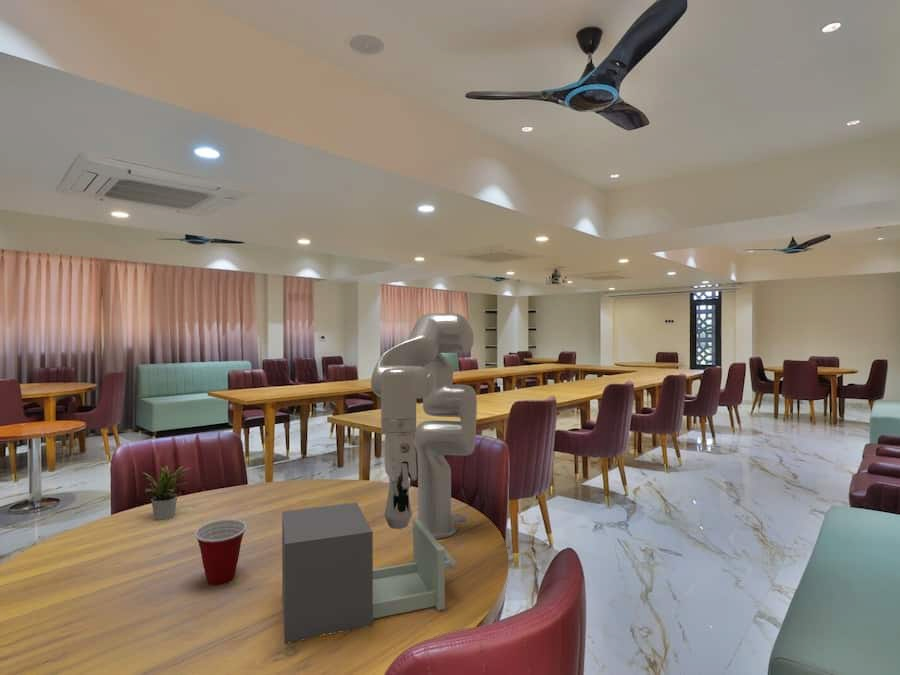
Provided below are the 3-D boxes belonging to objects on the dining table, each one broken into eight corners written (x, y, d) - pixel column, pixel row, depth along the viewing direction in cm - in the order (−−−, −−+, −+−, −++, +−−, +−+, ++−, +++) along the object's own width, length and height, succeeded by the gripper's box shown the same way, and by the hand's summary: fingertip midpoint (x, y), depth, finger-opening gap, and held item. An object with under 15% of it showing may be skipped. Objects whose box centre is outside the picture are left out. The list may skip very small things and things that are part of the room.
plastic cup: (194, 596, 104) (194, 540, 104) (194, 575, 113) (194, 523, 113) (248, 584, 109) (248, 531, 109) (244, 565, 118) (244, 516, 118)
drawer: (435, 567, 116) (435, 517, 117) (463, 605, 100) (463, 546, 100) (350, 581, 109) (350, 528, 110) (364, 625, 93) (364, 562, 93)
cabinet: (356, 582, 110) (356, 502, 110) (372, 625, 93) (372, 531, 93) (282, 595, 104) (282, 511, 105) (284, 643, 88) (284, 543, 88)
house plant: (203, 515, 152) (203, 463, 153) (157, 529, 141) (157, 473, 141) (178, 507, 160) (178, 457, 160) (132, 520, 148) (133, 466, 148)
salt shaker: (407, 531, 101) (407, 468, 101) (381, 529, 102) (381, 467, 102) (414, 521, 106) (414, 462, 107) (389, 519, 108) (389, 460, 108)
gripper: (426, 430, 98) (426, 522, 98) (405, 419, 113) (405, 498, 113) (390, 433, 95) (390, 527, 95) (373, 420, 111) (373, 501, 111)
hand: (398, 510), depth 104 cm, fingers closed on salt shaker, 3 cm apart
